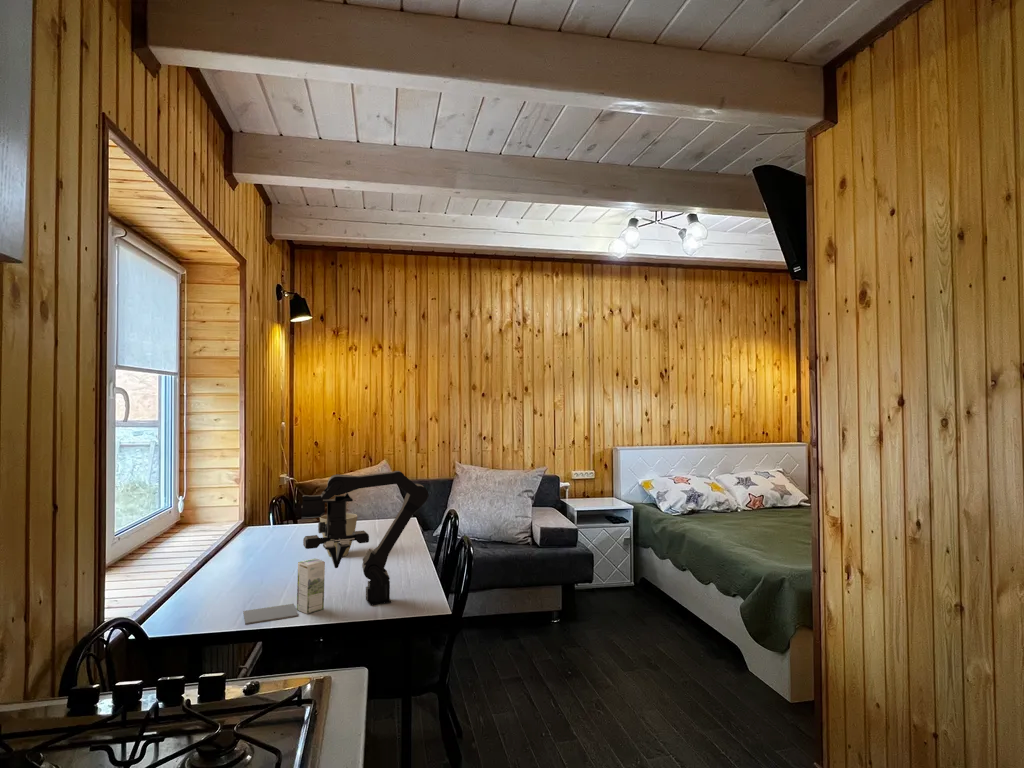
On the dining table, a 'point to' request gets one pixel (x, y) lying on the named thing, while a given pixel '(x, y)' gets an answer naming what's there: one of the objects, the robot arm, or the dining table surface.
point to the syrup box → (310, 585)
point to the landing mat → (269, 613)
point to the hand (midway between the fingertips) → (336, 567)
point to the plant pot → (350, 528)
